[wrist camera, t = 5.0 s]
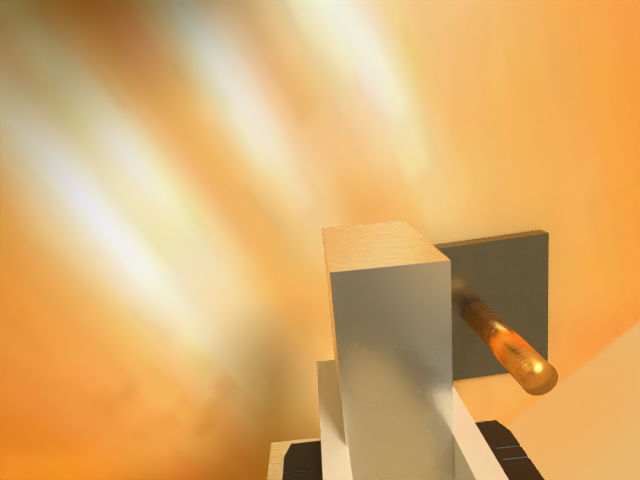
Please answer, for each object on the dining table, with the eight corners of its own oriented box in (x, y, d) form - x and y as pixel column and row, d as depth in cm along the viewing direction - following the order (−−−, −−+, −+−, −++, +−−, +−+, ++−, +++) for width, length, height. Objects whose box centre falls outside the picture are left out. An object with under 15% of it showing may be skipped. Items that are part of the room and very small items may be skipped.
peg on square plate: (394, 250, 30) (434, 301, 21) (540, 229, 30) (645, 271, 21) (406, 379, 32) (446, 474, 23) (540, 360, 32) (632, 448, 23)
